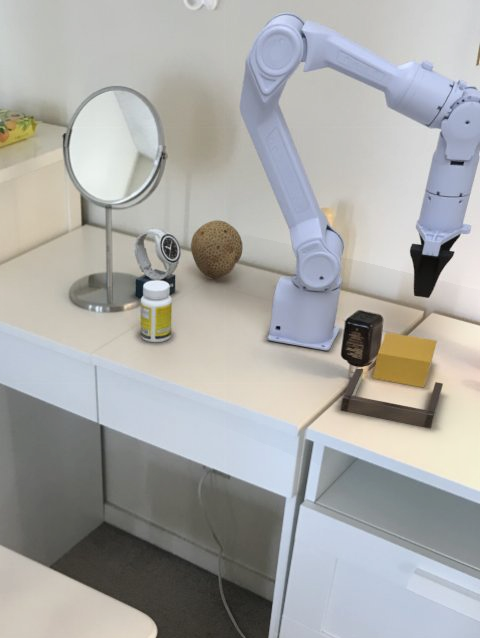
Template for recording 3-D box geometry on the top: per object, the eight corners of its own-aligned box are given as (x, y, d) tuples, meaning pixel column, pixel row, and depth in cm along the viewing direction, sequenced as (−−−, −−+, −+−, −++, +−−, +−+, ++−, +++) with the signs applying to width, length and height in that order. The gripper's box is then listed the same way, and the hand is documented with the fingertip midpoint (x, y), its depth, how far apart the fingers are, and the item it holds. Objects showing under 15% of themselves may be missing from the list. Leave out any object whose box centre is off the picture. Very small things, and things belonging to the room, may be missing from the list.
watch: (164, 305, 137) (166, 241, 130) (127, 293, 141) (127, 230, 134) (184, 295, 140) (187, 231, 133) (147, 283, 144) (148, 221, 138)
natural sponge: (208, 263, 151) (212, 209, 145) (249, 275, 146) (255, 219, 140) (179, 279, 146) (182, 223, 140) (221, 291, 141) (226, 234, 135)
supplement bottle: (173, 331, 129) (175, 280, 124) (167, 344, 126) (169, 292, 121) (144, 328, 130) (144, 277, 125) (137, 341, 127) (137, 290, 122)
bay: (340, 410, 109) (342, 397, 108) (354, 379, 116) (356, 367, 115) (430, 428, 105) (434, 415, 104) (439, 396, 112) (443, 383, 111)
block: (372, 378, 116) (377, 352, 114) (381, 357, 121) (386, 332, 119) (423, 387, 114) (430, 362, 111) (430, 365, 119) (437, 340, 116)
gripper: (474, 210, 103) (448, 311, 111) (484, 178, 113) (460, 273, 121) (416, 204, 105) (394, 303, 113) (431, 173, 115) (410, 266, 124)
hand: (425, 287), depth 117 cm, fingers open, 6 cm apart
